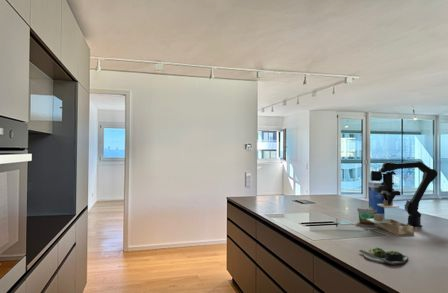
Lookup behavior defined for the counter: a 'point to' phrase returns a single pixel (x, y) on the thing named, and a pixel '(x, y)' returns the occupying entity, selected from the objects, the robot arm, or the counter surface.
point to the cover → (378, 219)
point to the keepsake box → (396, 227)
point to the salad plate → (385, 256)
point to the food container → (366, 215)
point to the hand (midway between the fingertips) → (388, 204)
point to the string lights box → (375, 198)
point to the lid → (385, 204)
